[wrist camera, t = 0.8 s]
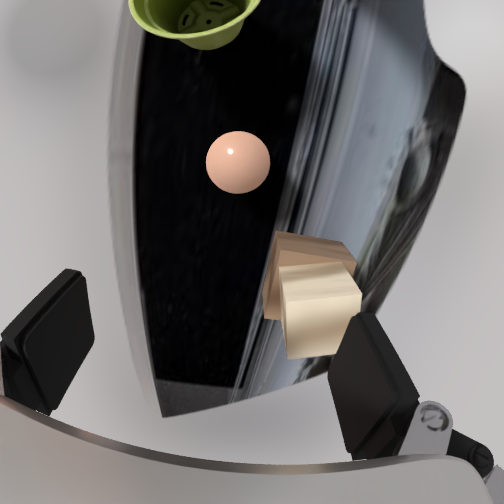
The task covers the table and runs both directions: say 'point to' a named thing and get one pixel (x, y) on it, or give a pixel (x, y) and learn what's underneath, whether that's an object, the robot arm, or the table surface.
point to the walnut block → (298, 263)
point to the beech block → (316, 307)
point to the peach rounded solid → (238, 162)
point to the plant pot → (193, 20)
